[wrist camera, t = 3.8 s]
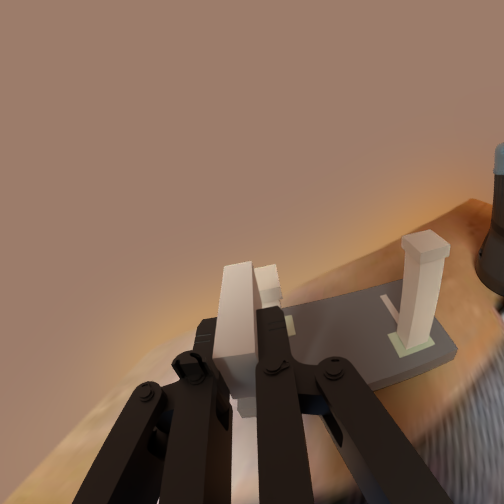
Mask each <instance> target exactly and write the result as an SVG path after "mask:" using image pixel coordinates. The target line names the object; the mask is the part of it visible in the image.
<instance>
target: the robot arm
mask: <svg viewBox="0 0 504 504" xmlns="http://www.w3.org/2000/svg"><path fill="white" fill-rule="evenodd" d="M494 165H495V166H494V170H493V173H494V174H495V178H494V179H495V181H494V197H493V208H492V218H491V226H490V229H489V231H488V233H487V236H486V238H485V240H484V242H483V244H482V246H481V248H480V250H479V252H478V256H477V261H476V272H477V275H478V276H479V278H480V279H481V281H482V282H483V283H484V284H485V285H486V286H487V287H488V288H490V289H491V290H493V291H494V292H496V293H498V294H500V295H502V296H504V143H501V144H499V145H498V146H497V147H496V149H495V164H494ZM194 343H195V344H194V346H193V350H190V351H186V352H183V353H181V354H179V355H178V356H177V357H176V358H175V359H174V360H173V362H172V364H171V365H172V367H173V369H174V370H175V372H176V373H177V375H178V376H179V378H180V380H179V381H177V382H175V383H172V384H169V385H166V386H163V387H160V385H159V384H158V383H156V382H152V381H148V382H144V383H142V384H140V385H139V386H137V387H136V389H135V390H134V391H133V393H132V395H131V396H130V398H129V400H128V401H127V403H126V405H125V407H124V408H123V410H122V412H121V414H120V415H119V417H118V419H117V421H116V422H115V424H114V426H113V428H112V429H111V431H110V433H109V435H108V437H107V438H106V440H105V442H104V444H103V446H102V447H101V449H100V451H99V453H98V455H97V457H96V458H95V460H94V462H93V464H92V466H91V468H90V470H89V471H88V473H87V475H86V477H85V479H84V481H83V483H82V485H81V487H80V489H79V491H78V492H77V494H76V496H75V498H74V500H73V502H72V504H157V501H158V499H159V504H231V466H232V420H233V410H232V406H231V404H230V402H229V400H230V394H231V396H232V398H233V399H241V398H249V397H256V413H257V444H258V474H259V504H314V497H313V490H312V482H311V475H310V467H309V460H308V453H307V446H306V440H305V433H304V426H303V420H302V414H312V415H319V416H320V418H321V420H322V421H323V423H324V425H325V427H326V429H327V431H328V432H329V434H330V436H331V438H332V440H333V442H334V443H335V445H336V447H337V449H338V451H339V452H340V454H341V456H342V458H343V460H344V461H345V463H346V465H347V467H348V469H349V470H350V472H351V474H352V476H353V478H354V479H355V481H356V483H357V485H358V486H359V488H360V490H361V492H362V494H363V495H364V497H365V499H366V501H367V502H368V504H453V502H452V501H451V499H450V498H449V496H448V495H447V494H446V492H445V491H444V489H443V488H442V486H441V485H440V484H439V482H438V481H437V479H436V478H435V477H434V475H433V474H432V472H431V471H430V470H429V468H428V467H427V465H426V464H425V463H424V461H423V460H422V458H421V457H420V456H419V454H418V453H417V451H416V450H415V449H414V447H413V446H412V444H411V443H410V442H409V440H408V439H407V438H406V436H405V435H404V433H403V432H402V431H401V429H400V428H399V427H398V425H397V424H396V422H395V421H394V420H393V418H392V417H391V416H390V414H389V413H388V412H387V410H386V409H385V407H384V406H383V405H382V403H381V402H380V401H379V399H378V398H377V397H376V395H375V394H374V393H373V391H372V390H371V389H370V387H369V386H368V385H367V383H366V382H365V380H364V379H363V378H362V376H361V375H360V374H359V372H358V371H357V370H356V368H355V367H354V366H353V364H352V363H351V362H350V361H349V360H347V359H346V358H343V357H338V356H332V357H329V358H325V359H324V360H322V361H321V362H319V364H318V365H308V364H303V363H300V362H298V361H297V360H295V359H294V357H293V356H292V354H291V348H290V342H289V337H288V331H287V326H286V321H285V316H284V312H283V311H282V309H281V308H280V307H279V306H273V307H267V308H262V300H261V296H260V292H259V288H258V284H257V280H256V276H255V272H254V269H253V265H252V261H248V262H244V263H238V264H233V265H228V266H224V272H223V279H222V287H221V294H220V301H219V310H218V317H215V318H209V319H203V320H202V321H201V323H200V324H199V326H198V327H197V331H196V337H195V341H194ZM159 497H160V498H159Z"/></svg>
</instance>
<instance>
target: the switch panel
mask: <svg viewBox="0 0 504 504" xmlns="http://www.w3.org/2000/svg"><path fill="white" fill-rule="evenodd" d="M402 288H403V279H400V280H397V281H393V282H390V283H386V284H382V285H379V286H375V287H371V288H368V289H364V290H360V291H356V292H352V293H348V294H344V295H340V296H336V297H331V298H327V299H323V300H318V301H314V302H310V303H305V304H300V305H296V306H291V307H286V308H282V311H283V312H284V316H285V321H286V326H287V331H288V337H289V342H290V348H291V354H292V356H293V357H294V359H295V360H297V361H298V362H300V363H303V364H308V365H318V364H319V362H321V361H322V360H324V359H325V358H329V357H332V356H338V357H343V358H346V359H347V360H349V361H350V362H351V363H352V364H353V366H354V367H355V368H356V370H357V371H358V372H359V374H360V375H361V376H362V378H363V379H364V380H365V382H366V383H367V385H368V386H369V387H370V389H371V390H372V391H375V390H378V389H381V388H384V387H387V386H390V385H393V384H396V383H399V382H401V381H404V380H407V379H409V378H412V377H414V376H417V375H419V374H422V373H424V372H427V371H429V370H431V369H433V368H436V367H438V366H440V365H442V364H445V363H447V362H449V361H451V360H453V359H454V357H455V355H456V352H457V350H458V348H457V346H456V345H455V344H454V342H453V341H452V339H451V338H450V337H449V335H448V334H447V332H446V331H445V330H444V328H443V327H442V326H441V324H440V323H439V322H438V320H437V319H436V318H435V316H434V318H433V322H432V326H431V330H430V334H429V338H428V341H427V342H425V343H423V344H420V345H417V346H415V347H412V348H409V349H407V350H406V348H405V347H404V345H403V343H402V341H401V340H400V338H399V336H398V334H397V326H398V320H399V313H400V305H401V297H402ZM237 410H238V412H239V413H240V415H241V417H242V418H246V417H255V416H257V413H256V397H249V398H241V399H238V407H237Z"/></svg>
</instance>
